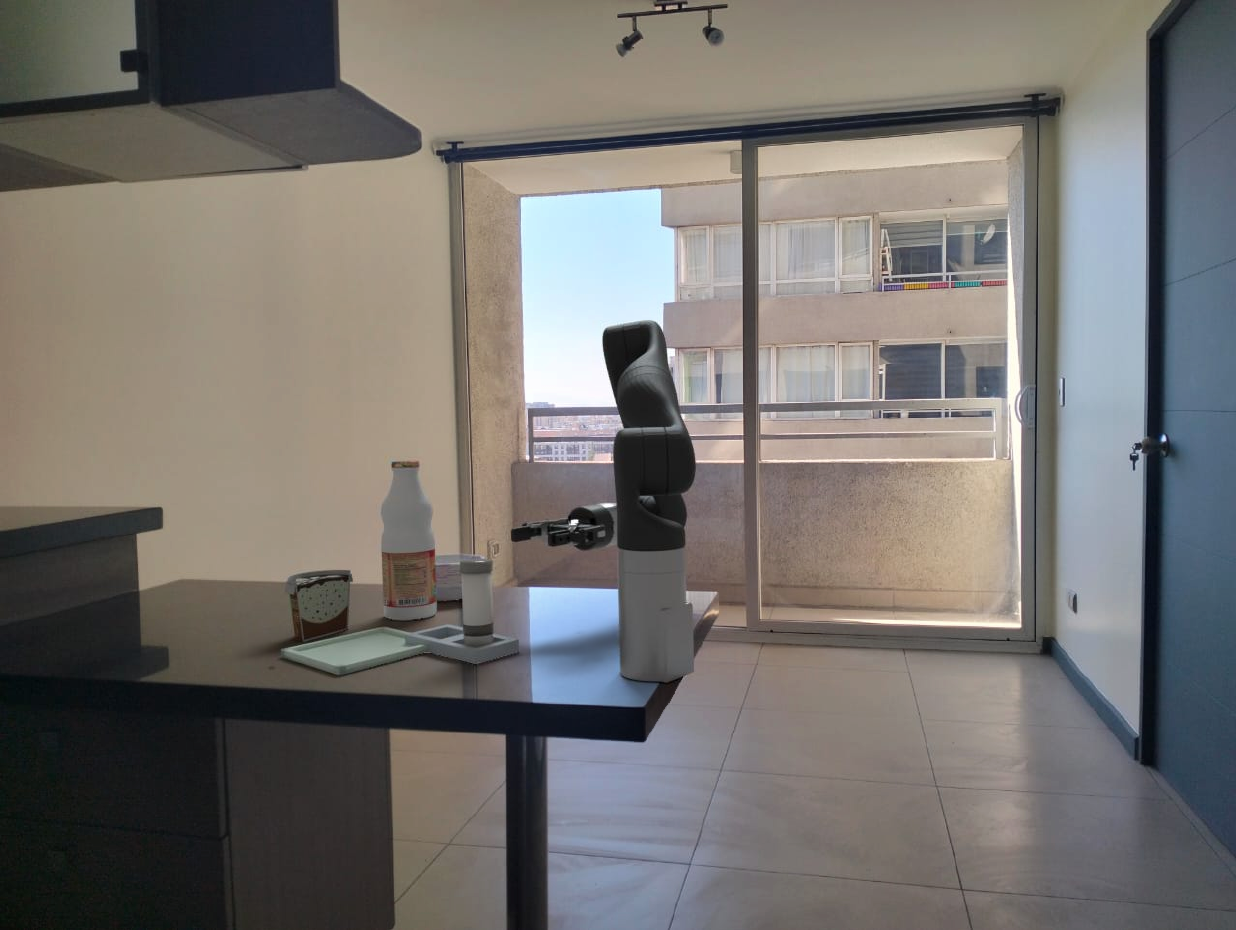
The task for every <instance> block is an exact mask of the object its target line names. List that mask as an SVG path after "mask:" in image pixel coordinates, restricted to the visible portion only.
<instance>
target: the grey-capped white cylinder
mask: <svg viewBox="0 0 1236 930" xmlns="http://www.w3.org/2000/svg"><path fill="white" fill-rule="evenodd" d="M493 561H494V560H493V559H492V558H486V559H467V560H462V561H460V572H461V573H462V600H461V601H462V603H461V604H462V627H463V635H464V644H463V645H466V646H470V647H474V648H478V647H481V646H485V645H489V644H493V643H495V642H494V637H493V634H495V631H494V629H495V628H494V611H493V607H494V606H493V605H494V604H493V576H492V572H493V571H494V569H493V567H494V566H493V563H494V562H493Z"/></svg>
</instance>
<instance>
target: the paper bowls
mask: <svg viewBox="0 0 1236 930" xmlns="http://www.w3.org/2000/svg"><path fill="white" fill-rule="evenodd" d="M467 559H487V558H486V557H485V556H483V555H478V554H471V553H470V554H469V553H440V554H435V566H436V596H437V602H445V601H444V600H456V599H462V573H461V572H460V561H462V560H467Z"/></svg>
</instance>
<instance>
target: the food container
mask: <svg viewBox="0 0 1236 930" xmlns="http://www.w3.org/2000/svg"><path fill="white" fill-rule="evenodd" d="M352 574H353V573H351V569H350V570H349V569H325V570H323V569H322V570H313V571H307V572H300V573H296V574H292V575H290V576H288V577H287V581H285V586H284V593H286V594H288V595H289V602H290V609H291V618H292V623H293V624H292V625H293V631H294V632H293V633H294V638H295V639H294V640H296V641H297V642H301V643H304V642H308V641H311V640H315V639H319V638H322V637H327V636H329V635H334V634H337V632H338V633H341V632H344V631H343V630H345V631H347V630H346V629H348V630H349V621H350V620H349V617H350V615H349V613H350V594H351V583H353V582H354V578H353V575H352ZM340 631H341V632H340Z"/></svg>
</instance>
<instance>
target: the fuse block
mask: <svg viewBox="0 0 1236 930" xmlns="http://www.w3.org/2000/svg"><path fill="white" fill-rule="evenodd" d="M493 637H494V642H495V643H493V644H489V645H485V646H481V647H478V648H474V647H470V646H466V645H463V644H464V635H463V626H457V625H453V624H448V623H447V624H444V625H439V626H435V627H432V628H427V629H423V630H418V631H413V632H409V634H405V643H406V644H410V645H414V646H417V645H421V644H425V645H427V652H430V653H434V654H439V655H443V656H447V657H451V658H455V659H459V660H462V661H466V662H471V663H475V664H476V663H478V662H483V661H487V660H490V659H494V658H498V657H501V656H505V655H509V654H512V655H514V654H513V653H516V652H519V653H520V640H519V639H518V638H514V637H509V636H506V635H505V636H504V635H500V634H496V633H493ZM430 653H429V654H430ZM434 654H433V655H434ZM516 654H517V653H516ZM509 656H510V655H509ZM505 657H506V656H505ZM498 659H499V658H498Z"/></svg>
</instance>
